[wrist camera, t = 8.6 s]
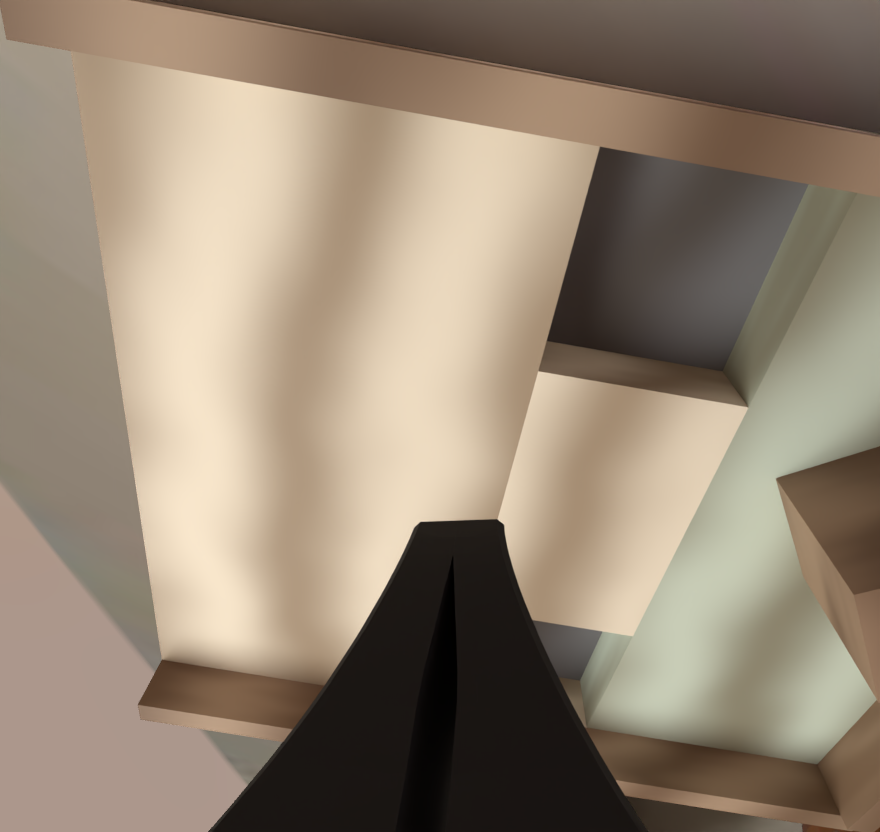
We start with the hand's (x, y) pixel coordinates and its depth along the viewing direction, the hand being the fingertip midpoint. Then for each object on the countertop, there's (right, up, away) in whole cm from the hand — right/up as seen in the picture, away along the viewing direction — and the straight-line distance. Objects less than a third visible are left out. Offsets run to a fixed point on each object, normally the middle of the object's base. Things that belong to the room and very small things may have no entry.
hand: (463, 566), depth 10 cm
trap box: (+4, 0, +12) cm, 12 cm away
